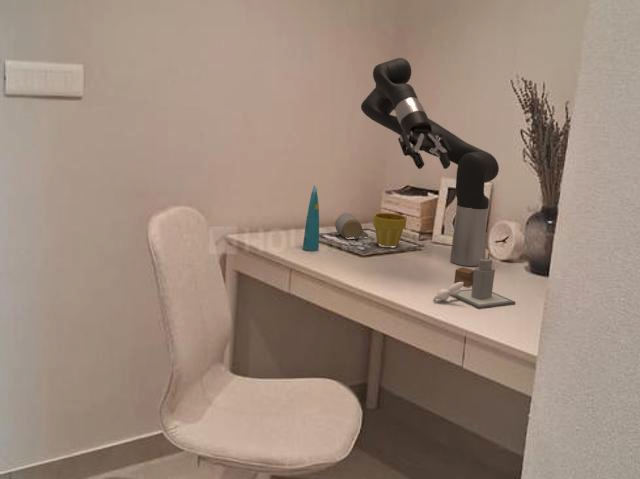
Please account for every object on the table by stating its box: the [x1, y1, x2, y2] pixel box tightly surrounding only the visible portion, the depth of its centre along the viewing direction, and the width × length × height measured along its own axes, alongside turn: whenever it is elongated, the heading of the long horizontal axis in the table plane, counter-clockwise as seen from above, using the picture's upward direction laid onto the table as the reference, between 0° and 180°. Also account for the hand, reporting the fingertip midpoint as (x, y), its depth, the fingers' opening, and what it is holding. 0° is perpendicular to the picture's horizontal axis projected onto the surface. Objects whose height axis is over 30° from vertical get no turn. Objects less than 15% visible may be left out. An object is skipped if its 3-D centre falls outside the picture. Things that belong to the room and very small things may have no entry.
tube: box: [302, 185, 320, 252], centre depth 215 cm, size 7×5×19 cm, turn 13°
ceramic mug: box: [334, 212, 370, 239], centre depth 236 cm, size 11×8×8 cm
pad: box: [449, 288, 516, 310], centre depth 179 cm, size 12×12×1 cm
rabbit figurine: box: [432, 282, 464, 303], centre depth 175 cm, size 6×4×8 cm
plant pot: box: [372, 212, 407, 247], centre depth 228 cm, size 10×10×10 cm
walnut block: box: [453, 266, 474, 288], centre depth 192 cm, size 4×4×4 cm
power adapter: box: [471, 249, 496, 300], centre depth 178 cm, size 3×5×12 cm, turn 133°
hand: (434, 167), depth 186 cm, fingers open, 8 cm apart
